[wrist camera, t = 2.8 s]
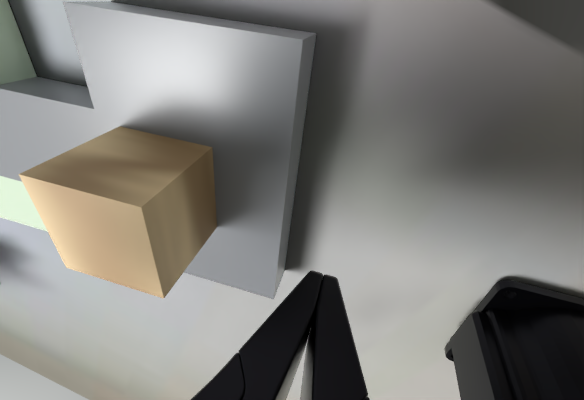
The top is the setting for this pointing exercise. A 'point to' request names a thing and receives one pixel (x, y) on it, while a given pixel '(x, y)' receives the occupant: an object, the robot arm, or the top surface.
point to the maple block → (128, 206)
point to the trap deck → (172, 117)
